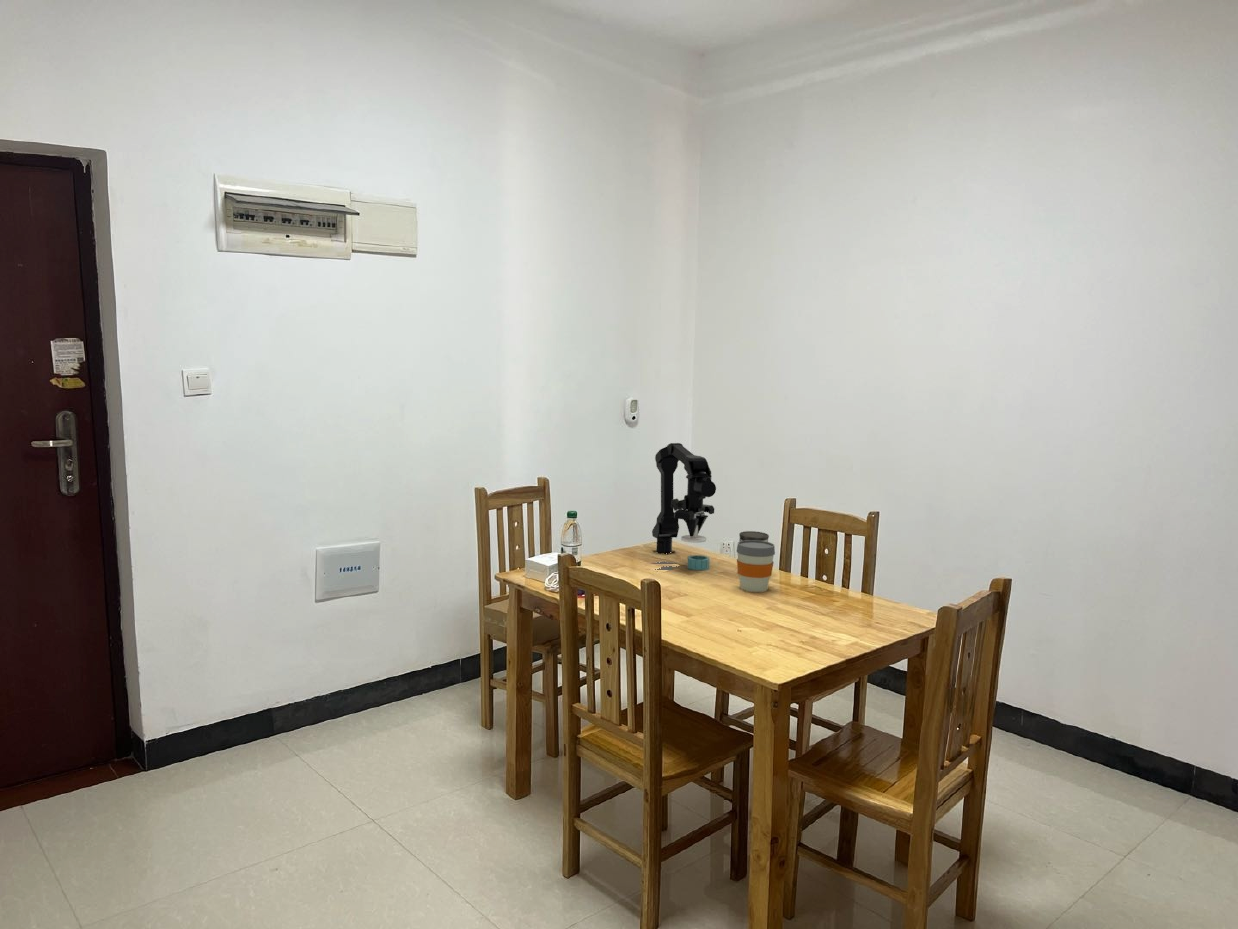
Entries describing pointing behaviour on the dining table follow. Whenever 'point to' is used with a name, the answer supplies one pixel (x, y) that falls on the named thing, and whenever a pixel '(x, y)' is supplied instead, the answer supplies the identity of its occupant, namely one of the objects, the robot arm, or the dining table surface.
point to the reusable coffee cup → (755, 564)
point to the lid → (694, 537)
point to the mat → (666, 566)
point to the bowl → (698, 562)
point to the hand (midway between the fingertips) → (693, 535)
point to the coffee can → (753, 536)
